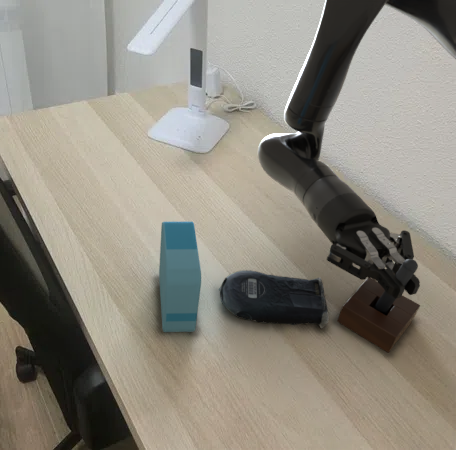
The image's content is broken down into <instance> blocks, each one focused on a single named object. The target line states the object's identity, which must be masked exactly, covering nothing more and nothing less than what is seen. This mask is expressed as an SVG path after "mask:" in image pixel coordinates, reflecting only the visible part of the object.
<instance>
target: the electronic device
mask: <svg viewBox="0 0 456 450" xmlns="http://www.w3.org/2000/svg"><path fill="white" fill-rule="evenodd" d="M218 290H219V298H220V302H221V303H222V305H223V306H224V307H225V309H226V310H228V312H230V313H231V314H232V315H233V316H235V317H237V318H240V319H242V320H245V321H246V320H248V321H251V322H252V321H253V322H256V323H261V324H277V325H278V324H279V325H308V324H310V325H312V324H314V325H317V326H319V327H320V329H324V327H326V326H327V325H328V323H329V320H330V317H329V313H328V306H327V301H326V295H325V289H324V285H323V279H322V277H316V278H312V279H306V278H299V277H298V278H297V277H290V276H289V277H288V276H279V275H274V274H267V273H263V272H260V271H255V270H249V269H247V270H244V269H243V270H242V269H241V270H238V271H235V272H233V273H230V274H229V275H227V276H226V277H225V278H224V280H223V281H222V283H221V286H220V287H219V289H218Z"/></svg>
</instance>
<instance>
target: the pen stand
mask: <svg viewBox="0 0 456 450" xmlns="http://www.w3.org/2000/svg"><path fill="white" fill-rule="evenodd" d="M384 291H385V290H384V289H383V287H382V286H381V285H380V284H379V283H378V281H376V280H373V279H372V278H367V277H366V279H365V280H364V281H363V283H362V284H360V286H359V287H357V290H355V292H354V293H352V294H351V296H350V297H349V298H348V299H347V300H346V302H345V303H344V304H343V305H342V306H341V309H340V312H339V315H338V317H337V320H336V322H337V323H339V324H341V325H342V326H344V327H345V328H346V329H349V330H350V331H352V332H353V333H355V334H357V335H359V336H360V337H361V338H364V339H365V340H367V341H368V342H370V343H371V344H373V345H375V346H377V347H378V348H379V349H381V350H383V351H385V352H387V353H390V351H391V350H392V349H393V348H394V347H395V345H396V344H397V342H398V341H399V340H400V338H401V337H402V335H403V334H404V333H405V331H406V330H407V329H408V327H409V326H410V324H411V323H412V322H413V321H414V318H415V316H416V315H417V313H418V311H419V309H420V307H421V305H420V304H419V303H417V302H415V301H414V300H412V299H410V298H408V297H406V296H404V294H402V296H401V297H400V298H396V300H395V301H394V303H393V304H392V305H391V307H390V308H389V310H388V311H387V313H386V314H385V315H384V314H383V313H381V312H379V311H377V310H376V309H374V308H373V307H374V306H375V304H376V303H377V301H378V300H379V298H380V297H381V295H382V294H383V292H384Z"/></svg>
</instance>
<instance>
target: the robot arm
mask: <svg viewBox="0 0 456 450" xmlns="http://www.w3.org/2000/svg"><path fill="white" fill-rule="evenodd" d="M385 6H386V7H389V8H391V9H392V10H394V11H396V12H399V13H401V15H404V16H406V17H408V18H410V19H411V20H413V21H415V22H416V23H417V24H419V25H420V26H421V27H423V28H424V29H425V30H426V31H427V32H428V33H429V34H430V35H431V37H432V38H434V39H435V40H436V42H437V43H438V44H439V45H440V46H441V47H442V48H443V49H444V50H445V51H446V52H447V53H448V54H449V55H450V56H451V57H453V59H454V60H456V0H325V2H324V6H323V10H322V13H321V17H320V20H319V24H318V27H317V30H316V33H315V36H314V40H313V42H312V45H311V48H310V50H309V52H308V54H307V56H306V59H305V61H304V63H303V66H302V68H301V69H300V72H299V74H298V77H297V80H296V82H295V84H294V86H293V88H292V91H291V93H290V96H289V98H288V100H287V103H286V106H285V107H284V108H285V109H284V112H283V120H284V122H285V124H286V125H287V126H288V127H290V128H291V129H292V130H295V131H296V132H294V133H292V132H291V133H290V132H289V133H271V134H269V135H266V136H265V137H263V139H262V140H260V142H259V145H258V147H257V160H258V163H259V165H260V167H261V170H263V172H264V173H265V174H266V175H267V176H268V177H270V178H271V179H272V180H273V181H275V182H276V183H277V184H279V185H280V186H282V187H284V188H285V189H287V190H288V191H290V192H292V193H293V194H294V195H295V197H296V199H298V200H299V201H300V203H301V204H302V205H303V207H304V208H305V209H306V211H307V213H308V214H309V216H310V218H311V219H312V221H313V222H314V223H315V224H316V225H317V227H318V228H319V230H320V231H321V232H323V234H324V235H325V237H326V238H327V240H329V242H331V245H330V247H329V250H328V253H327V256H326V261H327V262H328V263H330V264H332V265H334V266H336V267H338V268H339V269H341V270H343V271H345V272H346V273H348V274H350V275H352V276H354V277H355V278H357V279H359V280H362V281H365V280H366V279H367V278H372V279H373V280H375V281H377V282H378V283H379V284H380V285H381V286H382V287H383V289H384V290H385V291H386V292H387V293H388V294H389V295H392V296H393V297H394V298H395V299H396V298H400V297H401V296H402V295H404V292H406V293H407V294H408V295H409V296H413V295H416V294H417V293H418V291H419V289H420V287H421V281H420V279H419V278H418V277H417V275H415V273H414V274H413V276H412V277H411V278H410V280H409V281H408V283H407V284H406V286H405V287H404V285H403V284H402V283H401V282H400V281H399V280H398V279H397V278H396V276H395V274H396V273H397V271H398V270H399V268H400V267H401V265H402V264H403V262H404V261H405V260H407V259H413V260H414V258H415V254H414V249H413V243H412V238H411V233H410V231H408V230H405V229H404V230H401V231H400V233H395V232H390V229H388V228H387V227H385V226H383V225H382V224H380V223H379V220H378V217H377V215H376V213H375V212H374V210H373V209H372V208H371V207H370V206H369V204H367V203H366V202H365V201H364V200H363V198H361V196H360V195H358V194H357V192H356V191H355V190H354V189H353V188H352V187H351V186H350V185H349V184H348V183H346V182H345V181H343V180H342V179H341V178H340V177H339V176H338V174H337V173H336V172H335V171H334V170H333V169H332V168H331V167H330V166H329V164H327V163H325V162H324V161H322V160H320V158H321V153H322V148H323V147H322V146H323V140H324V135H325V129H326V124H327V121H328V119H329V117H330V115H331V113H332V111H333V110H334V107H335V105H336V103H337V102H338V101H337V100H338V98H339V96H340V95H341V91H342V89H343V87H344V85H345V82H346V79H347V75H348V72H349V70H350V66H351V64H352V61H353V59H354V56H355V54H356V52H357V50H358V48H359V46H360V45H361V42H362V40H363V38H364V37H365V35H366V33H367V32H368V30H369V28H370V27H371V25H373V22H374V21H375V20H376V18H377V17H378V15H379V14H380V12H381V11H382V9H383V8H384V7H385ZM354 265H356V266H357V267H356V266H354ZM358 267H359V268H358Z"/></svg>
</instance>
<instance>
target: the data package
mask: <svg viewBox="0 0 456 450" xmlns="http://www.w3.org/2000/svg"><path fill="white" fill-rule="evenodd" d="M160 229H161V230H160V250H159V251H160V252H159V265H158V267H159V268H158V269H159V270H158V278H159V279H158V280H159V281H158V282H159V295H160V296H159V297H160V299H159V300H160V313H161V314H160V315H161V327H162V328H161V329H162V332H164V333H193V332H195V331H196V328H197V320H198V311H199V304H200V295H201V287H202V270H201V269H202V268H201V263H200V255H199V248H198V242H197V235H196V229H195V223H194V222H193V221H162V222H161V228H160Z"/></svg>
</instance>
